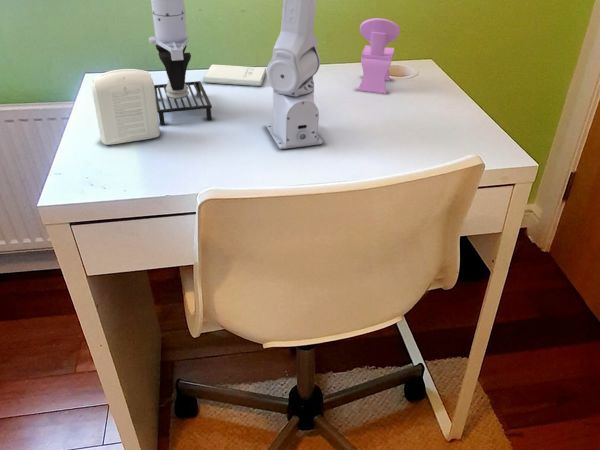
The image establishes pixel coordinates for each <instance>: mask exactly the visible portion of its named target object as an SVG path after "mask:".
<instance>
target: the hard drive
mask: <svg viewBox="0 0 600 450" xmlns="http://www.w3.org/2000/svg"><path fill="white" fill-rule="evenodd" d="M266 70H267V67H256V66H255V67H254V66H241V65H230V64H229V65H227V64H226V65H225V64H211V65H210V67H209V68H208V70H207V71H206V73H205V74H204V76H203V81H204V83H205V84H206V83H209V84H210V83H211V84H222V85H237V86H251V87H262V84H263V82H264V80H265V77H266V76H267V75H266Z"/></svg>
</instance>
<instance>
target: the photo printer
mask: <svg viewBox="0 0 600 450" xmlns="http://www.w3.org/2000/svg"><path fill="white" fill-rule="evenodd" d="M154 85H155V83H154V80H153V78H152V75H151V73H150V71H148V70H144V69H143V70H142V69H138V68H121V69H120V68H119V69H114V70H113V69H112V70H109V71H105V72H103V73H100V74H98V75H96V76H94V77H92V84H91V93H92V98H93V103H94V109H95V114H96V120H97V125H98V130H99V137H100V141H101V143H102V144H103V145H116V144H117V145H118V144H124V143H130V142H136V141H144V140H151V139H155V138H158V137H159V136H160V135H161V130H160V120H159V113H158V112H157V104H156V96H155V88H154Z"/></svg>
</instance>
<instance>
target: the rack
mask: <svg viewBox="0 0 600 450" xmlns="http://www.w3.org/2000/svg"><path fill="white" fill-rule="evenodd" d="M185 84H186V85H187V86H188V91H189V93H190V94H191V95H190V96H191V97H192V99H193V102H194V105H192V103H191V100H190V98H189V95H188V96H187V97H185V98H186V102H187V104H188V106H186V104H185V102H184V98H182V99H179V100H180V102H181V105H182V107H181V106H179V104H178V99H173V102H174V104H175V107H173V105H172V101H171V98H169V97H168V96H167V95H166V92H167V91H166V86H167V85H168V84H167V83H162V84H154V88H155V96H156V104H157V113H158V121H159V126H165V125H166V122H165V121H166V120H165V113H176V112H187V111H196V110H197V111H198V110H205V113H206V120H207V121H211V120H212V108H213V105H212V104H211V100H210V98H209V96H208V95H207V92H206V90H205V88H204V86H203V84H202V82H201V80H197V81H185ZM191 86H193V87H194V89H195V91H196V96H195V94H194V92H193V89H192V87H191ZM162 88H163V90H164V93H165V96H166V99H167V103H168V105H169V108H167V107H166V104H165V101H164V98H163V94H162V90H161V89H162ZM202 96H203V97H202ZM159 97H160V98H159ZM196 97H197V98H198V99H199V101H200V103H201V105H199V104H198V102H197V99H196ZM203 98H204V100H203ZM159 99H160V102H161V104H162V108H163V109H162V108H161V106H160V103H159ZM204 101H205V102H204ZM205 103H206V104H205Z"/></svg>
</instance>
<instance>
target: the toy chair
mask: <svg viewBox="0 0 600 450" xmlns="http://www.w3.org/2000/svg"><path fill="white" fill-rule="evenodd" d="M359 33H360V35H361V36H362V37H363V38H364V39H365V40H366V41H367V42H369V44H370V45H367V44H365V45H364V48H363V50H362V52H361V54H360V55H361V57H360V64H361V68H362V80H361V82H360V85H359V86H358V88H357V91H359V92H368V93H377V94H385V95H386V94H387V88H386V82H387V81H388V82H390V81H391V77H390V72H389V68H390V67H391V65H392V60H393V57H394V54H395V47H386V46H387V45H389V44H390V43H392V42H393V41H395V40H396V39H398V37H399V36H400V33H401V28H400V26H399V25H398V24H397V23H396V22H394V21H392V20H390V19H388V18H379V17H375V18H369V19H366V20H364V21H362V22H361V24H360V25H359ZM385 81H386V82H385Z"/></svg>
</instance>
